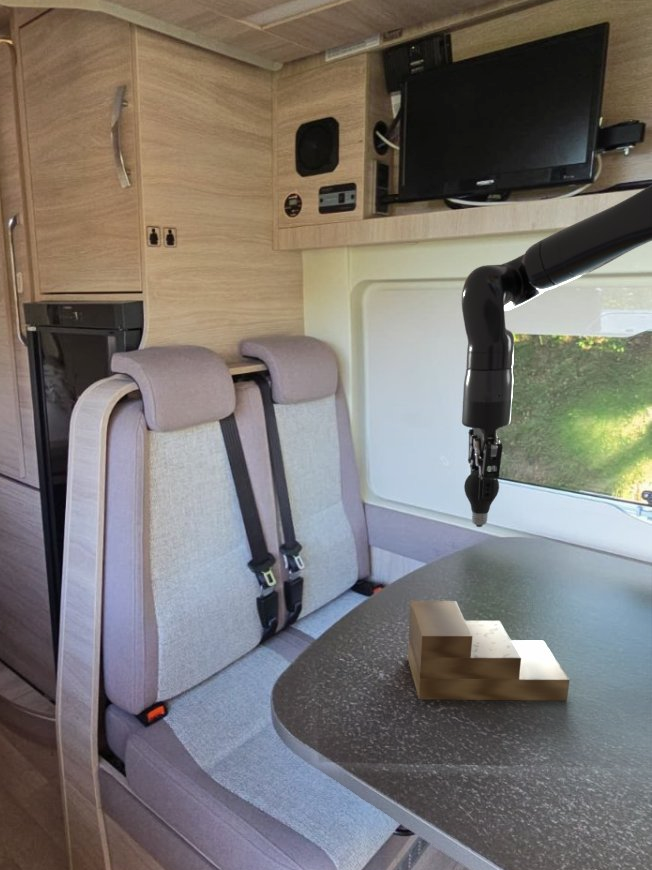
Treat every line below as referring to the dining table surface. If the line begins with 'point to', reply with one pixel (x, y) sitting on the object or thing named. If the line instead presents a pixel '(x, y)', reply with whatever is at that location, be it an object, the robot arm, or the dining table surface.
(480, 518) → the light bulb
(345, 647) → the dining table surface
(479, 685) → the step shelf
